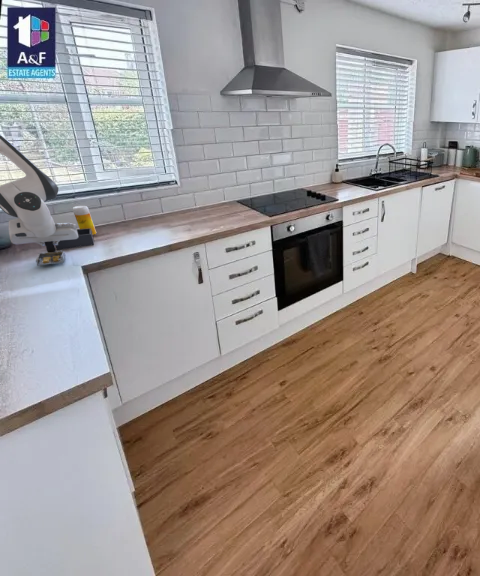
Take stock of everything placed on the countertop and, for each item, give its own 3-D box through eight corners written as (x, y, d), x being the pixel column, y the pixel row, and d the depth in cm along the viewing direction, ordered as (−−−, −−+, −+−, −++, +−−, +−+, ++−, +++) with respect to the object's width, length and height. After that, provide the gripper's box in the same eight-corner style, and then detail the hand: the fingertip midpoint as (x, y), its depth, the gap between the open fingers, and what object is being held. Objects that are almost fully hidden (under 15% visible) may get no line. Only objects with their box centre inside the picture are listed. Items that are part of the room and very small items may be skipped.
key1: (49, 261, 145) (49, 260, 145) (41, 262, 144) (41, 261, 144) (51, 257, 150) (50, 256, 149) (43, 258, 148) (42, 257, 148)
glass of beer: (80, 236, 186) (70, 207, 179) (94, 233, 190) (84, 204, 183) (85, 239, 183) (74, 209, 176) (99, 235, 187) (89, 206, 180)
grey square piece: (64, 262, 146) (57, 239, 143) (37, 265, 142) (29, 242, 138) (65, 254, 156) (59, 232, 153) (40, 256, 151) (33, 234, 148)
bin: (57, 252, 162) (53, 237, 159) (59, 244, 171) (55, 231, 169) (94, 248, 169) (91, 234, 167) (94, 241, 179) (90, 228, 176)
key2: (59, 260, 147) (59, 259, 147) (52, 261, 146) (51, 260, 146) (60, 256, 152) (60, 255, 152) (53, 257, 150) (52, 256, 150)
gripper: (73, 216, 147) (80, 235, 158) (2, 220, 136) (15, 240, 147) (76, 229, 146) (82, 247, 157) (4, 235, 134) (17, 254, 145)
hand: (49, 244), depth 152 cm, fingers closed on grey square piece, 2 cm apart
